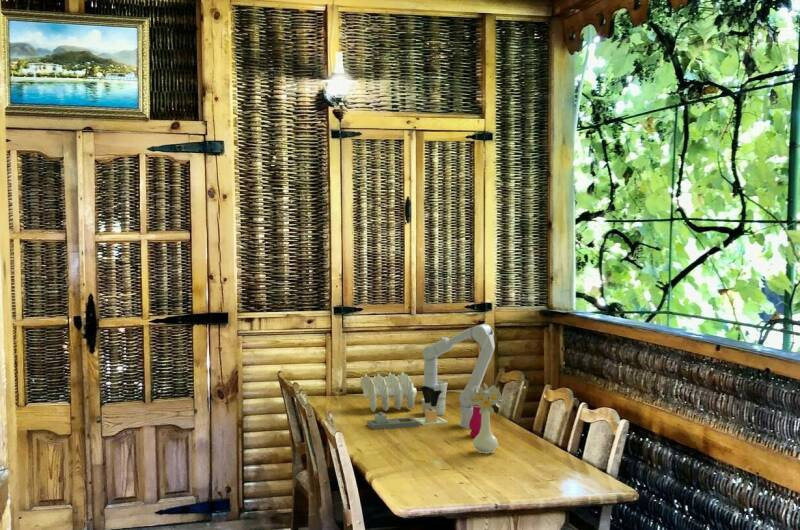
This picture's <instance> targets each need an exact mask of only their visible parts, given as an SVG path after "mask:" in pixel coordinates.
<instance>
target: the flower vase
mask: <svg viewBox="0 0 800 530" xmlns="http://www.w3.org/2000/svg"><path fill="white" fill-rule="evenodd" d="M478 391H479V392H478ZM478 393H479V394H478ZM469 398H472V399H471V400H470V401H469V402H471V401H472V400H473V401H472V403H471V405H475V404H476V405H478V406H481V408H480V414H482V418H481V429H480V432H479V434H478V435H477V436H476V437H473V441H472V445H473V447H474V448H475V450H476V452H477V453H478V454H481V453H483V455H490V454H489V453H491V454H493V453H494V452H495V450H496V448H498V446H499V441H498V439H497V437H496V436H495V435H494V434H493V432H492V429H491V423H490V414H494V413H495V410H494V408H493V407H492V406H494V405H495V406H496V407H497V408H498V409H499V408H501V406H504V405H503V402H502V401H504V400H505V398H504V396H502V394H501V392H500V387H496V386H495V384H493V385H490V387H489V386H488V384H487V383H485V382H483V387H482V386H480V389H479V390H478V386H477V388H476V386H475V387H474V392H471V395H470V397H469ZM475 398H476V399H475ZM484 453H485V454H484Z"/></svg>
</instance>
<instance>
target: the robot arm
mask: <svg viewBox="0 0 800 530" xmlns="http://www.w3.org/2000/svg"><path fill="white" fill-rule="evenodd" d="M467 339H470V340H472V339H473V340H474V341H475V342H476V343H477V344H478V345H479V346H480V349H481V350H480V353H479V354H478V357H477V359H476V362H475V365H474V367H473V371H472V373H471V375H470V378H469V381H468V383H467V384H466V386H465V387H464V389H463V391H462V392H461V393H459V396H458V401H459V403H460V423H456V425H458V426H460V427H462V428H463V429H466V430H467V429H470V427H469V422H470V420H471V417H472V415H473V406H472V405H471V403H472V401H471V402H469V401H470V400H471V398H469V397H470V395H471V392H474V387H475V386H476V387H477V386H478V387H481V384H482V382H483V379H484V376H485V374H486V371H487V370H488V366H489V364H490V362H491V359H492V357H493V354H494V351H495V347H496V345H495V338H494V330H493V329H492V327H491V326H490V325H489V324H487V323H482V324H479V325H475V326H472V327H469V328H466V329H465V330H463V331H461V332H459V333H457V334H455V335H454V336H452V337H451V338H449V337H441V338H439V340H438V341H435V342H432V343H431V345H430V346H429V345H427V346H425V347H424V348H423V349H422V351H421V352H422V353H421V355H422V357H423V361H424V362H423V367H424V368H423V372H424V374H423V375H424V377H423V380H422V383H421V386H420V388H419V389H420V390H421V393H422V396H423V398H424V401H425V403H430V401H431V406H432V407H433V406H436V405H437V401H438V398H439V395H440V393H441V390H439V386H438V383H437V381H438V357H439V356H441V355H443V354H445V353H447V352H449V351H451V350H453V347H454V345H456V344H458V343H461V342H463V341H464V340H467ZM470 430H471V429H470Z"/></svg>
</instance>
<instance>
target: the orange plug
mask: <svg viewBox="0 0 800 530" xmlns="http://www.w3.org/2000/svg"><path fill="white" fill-rule="evenodd" d="M437 417H438V416H437V411H436V410H434V409H433V408H429V410H425V414H424V418H425V422H427V423H434V422H437Z"/></svg>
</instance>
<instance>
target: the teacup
mask: <svg viewBox="0 0 800 530" xmlns="http://www.w3.org/2000/svg"><path fill="white" fill-rule="evenodd" d="M421 406H422V408H421V409H422V412H423V414H424V415H425V410H429V408H433V409H434V410H436V411H437V417H440V416H441V417H442V415H443V414H444V413H446V397H445V398H444V397H439V398H438V401H437V405H436V406H433V407H432V406H431V401H430V403H425V401H424V397H423V398H421Z"/></svg>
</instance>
